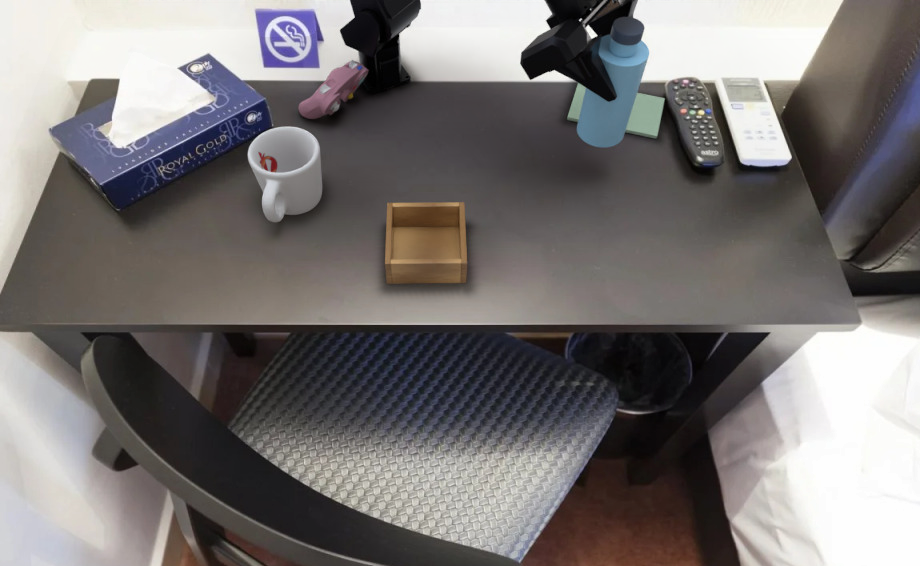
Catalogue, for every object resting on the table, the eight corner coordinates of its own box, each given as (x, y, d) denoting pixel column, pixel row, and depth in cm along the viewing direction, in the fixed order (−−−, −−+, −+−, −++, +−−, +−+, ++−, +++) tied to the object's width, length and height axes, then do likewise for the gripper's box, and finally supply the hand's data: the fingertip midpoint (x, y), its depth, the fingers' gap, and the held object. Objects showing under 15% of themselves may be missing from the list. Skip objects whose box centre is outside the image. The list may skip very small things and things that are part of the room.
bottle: (572, 141, 78) (596, 35, 66) (582, 111, 81) (606, 5, 69) (619, 152, 77) (652, 47, 65) (627, 121, 80) (660, 15, 68)
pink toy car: (320, 136, 89) (333, 106, 83) (293, 113, 88) (304, 81, 82) (363, 96, 94) (378, 65, 88) (338, 73, 93) (352, 41, 87)
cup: (310, 247, 77) (297, 199, 70) (244, 236, 77) (226, 187, 71) (337, 181, 82) (328, 130, 76) (276, 171, 83) (261, 120, 76)
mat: (566, 120, 89) (567, 117, 89) (578, 83, 93) (578, 80, 93) (656, 139, 87) (657, 136, 87) (663, 101, 92) (665, 98, 91)
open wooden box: (387, 287, 74) (384, 263, 70) (389, 227, 78) (387, 202, 75) (465, 286, 74) (467, 263, 70) (463, 227, 79) (464, 202, 75)
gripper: (567, -47, 56) (651, 110, 62) (658, -131, 64) (725, 14, 70) (481, 9, 65) (563, 141, 71) (572, -72, 73) (638, 52, 79)
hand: (624, 85), depth 72 cm, fingers closed on bottle, 5 cm apart
